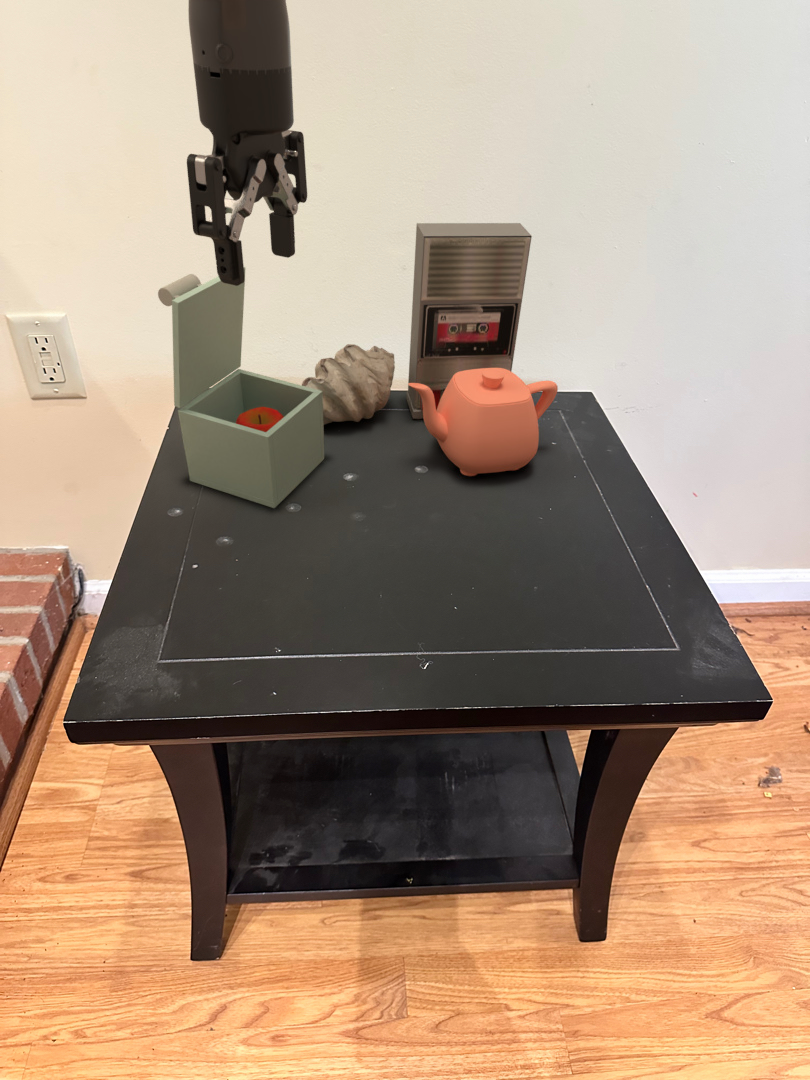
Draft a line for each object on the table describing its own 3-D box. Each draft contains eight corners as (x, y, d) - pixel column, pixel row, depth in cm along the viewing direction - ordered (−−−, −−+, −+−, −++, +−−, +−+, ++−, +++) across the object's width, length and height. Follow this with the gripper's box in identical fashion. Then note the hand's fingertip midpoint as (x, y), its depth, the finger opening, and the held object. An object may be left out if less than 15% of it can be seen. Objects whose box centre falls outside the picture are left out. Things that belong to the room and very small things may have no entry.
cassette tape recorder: (413, 421, 103) (423, 238, 87) (406, 400, 107) (415, 223, 92) (507, 417, 105) (534, 238, 89) (496, 396, 110) (521, 222, 94)
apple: (246, 450, 94) (240, 398, 89) (293, 454, 94) (290, 402, 89) (234, 478, 89) (227, 425, 84) (284, 482, 89) (280, 429, 84)
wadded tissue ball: (406, 430, 101) (409, 364, 94) (298, 440, 98) (294, 371, 91) (390, 395, 108) (392, 331, 102) (289, 402, 105) (285, 337, 99)
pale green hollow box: (324, 458, 94) (322, 390, 88) (274, 508, 86) (268, 437, 80) (245, 435, 98) (238, 368, 92) (189, 481, 89) (177, 410, 83)
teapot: (390, 439, 99) (393, 355, 91) (526, 423, 104) (539, 342, 96) (419, 495, 89) (425, 407, 81) (567, 475, 94) (586, 390, 86)
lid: (245, 267, 83) (205, 251, 84) (178, 302, 74) (134, 284, 75) (240, 366, 91) (204, 350, 92) (179, 408, 83) (140, 390, 84)
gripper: (252, 47, 63) (266, 241, 73) (142, 61, 53) (176, 285, 63) (329, 55, 61) (332, 254, 71) (230, 72, 50) (250, 302, 61)
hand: (259, 268), depth 67 cm, fingers open, 8 cm apart
